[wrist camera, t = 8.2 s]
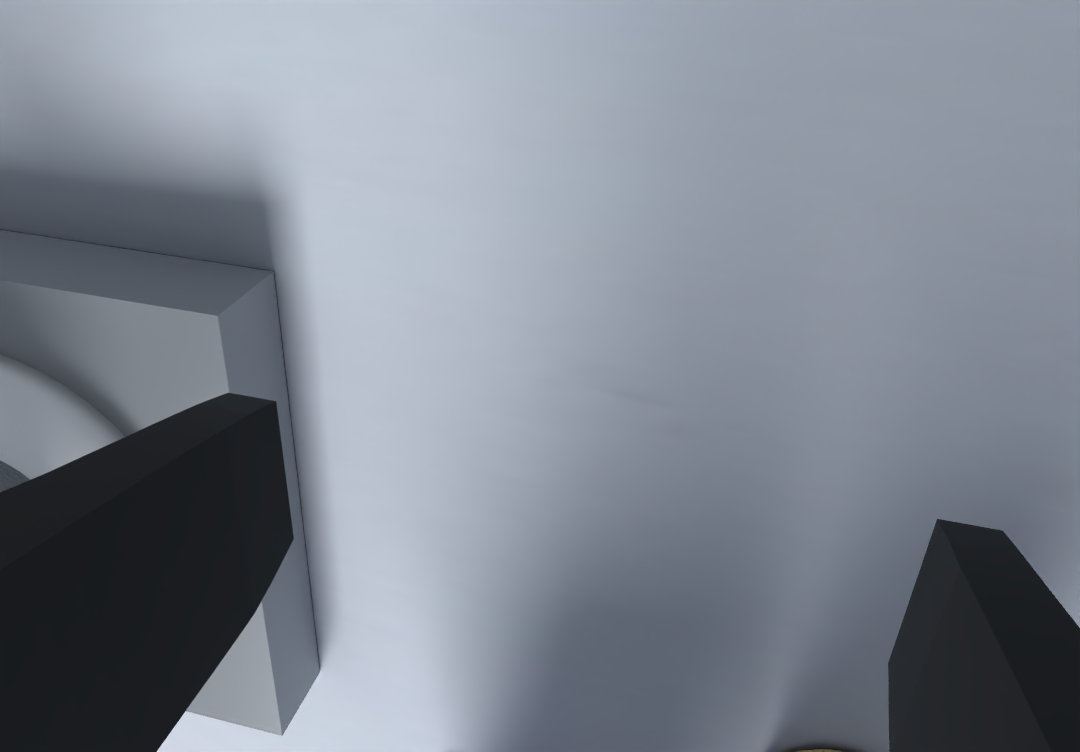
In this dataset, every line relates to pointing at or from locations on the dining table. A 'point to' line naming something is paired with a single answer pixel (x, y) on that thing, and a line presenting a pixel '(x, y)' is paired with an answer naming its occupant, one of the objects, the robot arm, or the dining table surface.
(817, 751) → the sprinkles bottle
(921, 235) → the dining table surface
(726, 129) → the dining table surface
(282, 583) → the kitchen scale
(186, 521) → the robot arm
